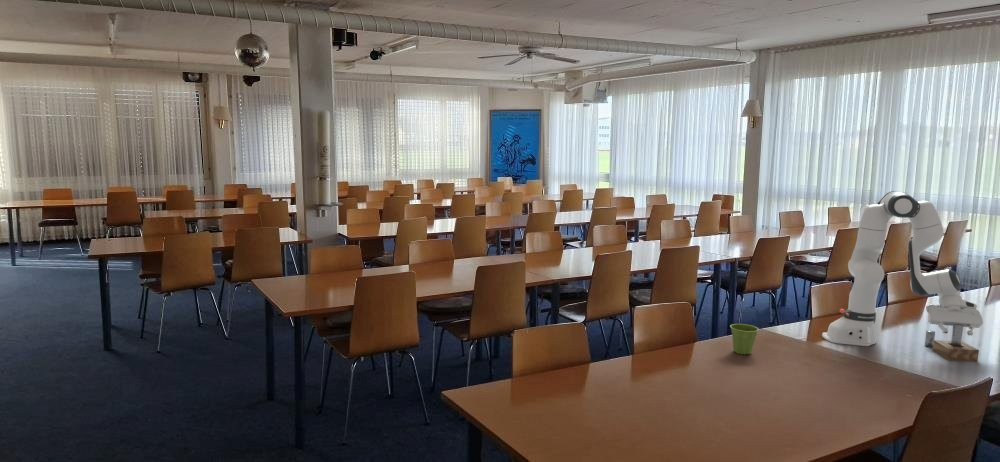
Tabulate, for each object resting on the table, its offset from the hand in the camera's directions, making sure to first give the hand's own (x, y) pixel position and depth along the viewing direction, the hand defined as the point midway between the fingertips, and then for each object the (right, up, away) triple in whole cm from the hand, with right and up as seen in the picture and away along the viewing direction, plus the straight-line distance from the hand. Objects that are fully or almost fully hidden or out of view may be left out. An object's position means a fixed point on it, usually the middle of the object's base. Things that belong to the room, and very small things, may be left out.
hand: (957, 333), depth 284 cm
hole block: (0, -10, +2) cm, 10 cm away
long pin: (0, -10, +2) cm, 10 cm away
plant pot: (-93, -9, +3) cm, 93 cm away
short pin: (-2, -8, +15) cm, 18 cm away
